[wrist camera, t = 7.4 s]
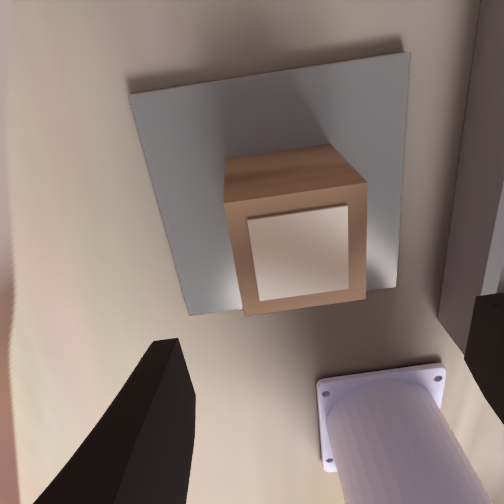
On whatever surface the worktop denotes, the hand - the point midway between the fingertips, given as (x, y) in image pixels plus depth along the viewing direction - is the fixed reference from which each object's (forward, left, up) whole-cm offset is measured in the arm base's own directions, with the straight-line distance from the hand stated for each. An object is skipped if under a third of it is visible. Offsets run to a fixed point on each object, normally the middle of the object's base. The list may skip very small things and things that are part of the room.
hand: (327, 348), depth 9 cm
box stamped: (0, 0, -9) cm, 9 cm away
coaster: (0, 0, -10) cm, 10 cm away
